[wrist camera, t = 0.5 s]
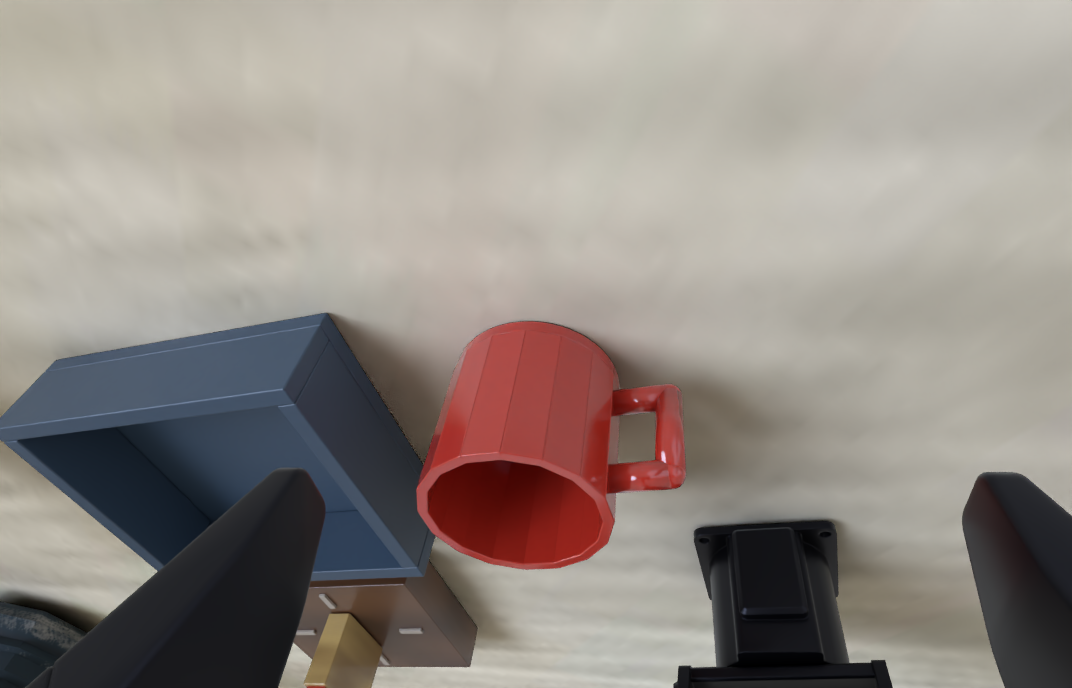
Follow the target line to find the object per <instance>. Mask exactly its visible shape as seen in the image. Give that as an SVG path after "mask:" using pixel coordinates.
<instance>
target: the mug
mask: <svg viewBox="0 0 1072 688" xmlns="http://www.w3.org/2000/svg"><path fill="white" fill-rule="evenodd" d="M651 412H655V460H650V461H639V462H627V463H618V443H619V423H620V416H623V415H632V414H641V413H651ZM685 478H686V464H685V442H684V420H683V398H682V392H681V390H680V389H679V388H678V387H677V386H675V385H673V384H661V385H652V386H644V387H636V388H627V389H620V382H619V378H618V374H617V371H616V369H615V367H614V365H613V363H612V362H611V360H610V358H609V357H608V356H607V355H606V353H605V352H604V351H603V350H602V349H601V348H600V347H599V346H598V345H596V344H595V343H594V342H592V341H591V340H590V339H588V338H587V337H585V336H583V335H581V334H579V333H577V332H575V331H573V330H571V329H568V328H565V327H562V326H559V325H555V324H550V323H545V322H535V321H522V322H512V323H507V324H502V325H499V326H496V327H493V328H491V329H489V330H487V331H485V332H483V333H481V334H480V335H478V336H477V337H475V338H474V339H473V340H472V341H471V342H470V343H469V344H468V345H467V346H466V348H465V349H464V350H463V352H462V354H461V356H460V358H459V361H458V364H457V366H456V367H455V369H454V372H453V375H452V378H451V381H450V384H449V388H448V391H447V394H446V397H445V400H444V403H443V406H442V410H441V413H440V416H439V419H438V422H437V425H436V429H435V432H434V435H433V438H432V441H431V444H430V447H429V451H428V454H427V457H426V460H425V463H424V466H423V470H422V473H421V476H420V479H419V482H418V485H417V489H416V493H417V511H418V513H419V515H420V516H421V517H422V519H423V520H424V522H425V523H426V525H427V526H428V528H429V529H430V531H431V532H432V533H433V534H434V535H436V536H437V537H438V538H440V539H441V540H443V541H444V542H445V543H447V544H448V545H450V546H451V547H452V548H454V549H455V550H457V551H459V552H461V553H463V554H466V555H469V556H471V557H474V558H476V559H479V560H481V561H484V562H486V563H490V564H494V565H500V566H506V567H512V568H518V569H525V570H529V569H553V568H561V567H565V566H568V565H571V564H574V563H578V562H581V561H584V560H587V559H589V558H590V557H591V556H593V555H594V554H595V553H596V552H598V551H599V550H600V549H601V548H603V547H604V546H605V545H606V544H607V543H608V542H609V538H610V535H611V532H612V529H613V526H614V522H615V505H616V493H628V492H641V491H655V490H668V489H676V488H678V487H680V486H681V485H682V484H683V483H684V481H685Z"/></svg>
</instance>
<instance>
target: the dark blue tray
mask: <svg viewBox="0 0 1072 688" xmlns="http://www.w3.org/2000/svg"><path fill="white" fill-rule="evenodd" d="M0 440H1V441H3V442H4V443H5V444H6V445H7V446H8V447H9V448H11V449H12V450H13V451H14V452H15V453H17V454H18V455H19V456H20V457H21V458H23V459H24V460H25V461H26V462H27V463H29V464H30V465H31V466H32V467H33V468H35V469H36V470H37V471H38V472H39V473H41V474H42V475H43V476H44V477H45V478H47V479H48V480H49V481H50V482H51V483H53V484H54V485H55V486H56V487H57V488H59V489H60V490H61V491H62V492H63V493H65V494H66V495H67V496H68V497H69V498H71V499H72V500H73V501H74V502H75V503H77V504H78V505H79V506H80V507H82V508H83V509H84V510H85V511H86V512H88V513H89V514H90V515H91V516H92V517H94V518H95V519H96V520H97V521H98V522H100V523H101V524H102V525H103V526H104V527H106V528H107V529H108V530H109V531H110V532H112V533H113V534H114V535H115V536H116V537H118V538H119V539H120V540H121V541H122V542H124V543H125V544H126V545H127V546H128V547H130V548H131V549H132V550H133V551H134V552H136V553H137V554H138V555H139V556H140V557H142V558H143V559H144V560H145V561H146V562H148V563H149V564H150V565H151V566H152V567H154V568H155V569H156V570H157V571H159V570H160V569H161V568H163V567H164V566H165V565H166V564H167V563H168V562H169V561H171V560H172V559H173V558H174V557H175V556H176V555H177V554H179V553H180V552H181V551H182V550H183V549H184V548H185V547H187V546H188V545H189V544H190V543H191V542H192V541H193V540H195V539H196V538H197V537H198V536H199V535H200V534H201V533H203V532H204V531H205V530H206V529H207V528H208V527H209V526H211V525H212V524H213V523H214V522H215V521H216V520H217V519H218V518H220V517H221V516H222V515H223V514H224V513H225V512H226V511H228V510H229V509H230V508H231V507H232V506H233V505H234V504H236V503H237V502H238V501H239V500H240V499H241V498H242V497H244V496H245V495H246V494H247V493H248V492H249V491H250V490H252V489H253V488H254V487H255V486H256V485H257V484H258V483H260V482H261V481H262V480H263V479H264V478H265V477H266V476H268V475H269V474H270V473H271V472H272V471H274V470H276V469H278V468H303V469H304V470H306V471H307V472H308V473H309V475H310V477H311V479H312V480H313V482H314V484H315V485H316V487H317V489H318V491H319V492H320V494H321V496H322V497H323V499H324V502H325V508H326V512H325V519H324V524H323V528H322V533H321V537H320V541H319V546H318V550H317V555H316V559H315V563H314V568H313V572H312V577H311V581H324V580H349V579H373V578H398V577H423V576H424V575H425V571H426V568H427V564H428V560H429V557H430V553H431V549H432V546H433V542H434V539H435V535H434V534H433V533H432V532H431V531H430V529H429V528H428V526H427V525H426V523H425V522H424V520H423V519H422V517H421V516H420V515H419V513H418V511H417V493H416V489H417V485H418V482H419V479H420V476H421V473H422V470H423V464H422V463H421V461H420V460H419V458H418V456H417V455H416V453H415V452H414V450H413V449H412V447H411V445H410V444H409V442H408V441H407V439H406V437H405V436H404V434H403V433H402V431H401V430H400V428H399V426H398V425H397V423H396V422H395V420H394V418H393V417H392V415H391V414H390V412H389V410H388V409H387V407H386V406H385V404H384V403H383V401H382V399H381V398H380V396H379V395H378V393H377V391H376V390H375V388H374V387H373V385H372V383H371V382H370V380H369V379H368V377H367V376H366V374H365V372H364V371H363V369H362V368H361V366H360V364H359V363H358V361H357V360H356V358H355V356H354V355H353V353H352V352H351V350H350V349H349V347H348V345H347V344H346V342H345V341H344V339H343V337H342V336H341V334H340V333H339V331H338V330H337V328H336V326H335V325H334V323H333V322H332V320H331V318H330V317H329V315H328V314H327V313H323V314H317V315H312V316H306V317H300V318H294V319H289V320H283V321H277V322H271V323H266V324H260V325H254V326H249V327H243V328H237V329H231V330H226V331H220V332H214V333H208V334H203V335H197V336H191V337H186V338H180V339H174V340H168V341H163V342H157V343H151V344H145V345H140V346H134V347H128V348H122V349H117V350H111V351H105V352H100V353H94V354H88V355H82V356H77V357H71V358H65V359H59V360H56V361H55V362H54V363H53V364H52V365H51V366H50V367H49V368H48V369H47V370H46V371H45V372H44V373H43V374H42V375H41V376H40V377H39V378H38V379H37V380H36V381H35V382H34V383H33V384H32V385H31V387H30V388H29V389H28V390H27V391H26V392H25V393H24V394H23V395H22V396H21V397H20V398H19V399H18V400H17V401H16V402H15V403H14V404H13V405H12V406H11V407H10V408H9V409H8V410H7V411H6V412H5V413H4V414H3V415H2V417H1V418H0Z"/></svg>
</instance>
